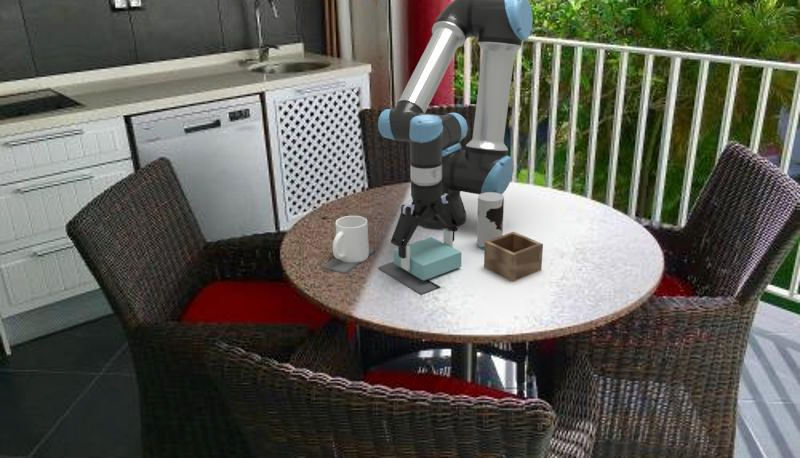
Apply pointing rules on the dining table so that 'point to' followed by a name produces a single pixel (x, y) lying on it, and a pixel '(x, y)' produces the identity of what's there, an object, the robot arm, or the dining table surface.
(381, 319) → the dining table surface
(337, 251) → the mug
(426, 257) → the lid
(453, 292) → the dining table surface
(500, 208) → the printed grey cylinder
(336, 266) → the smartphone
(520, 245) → the box
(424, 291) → the mat
